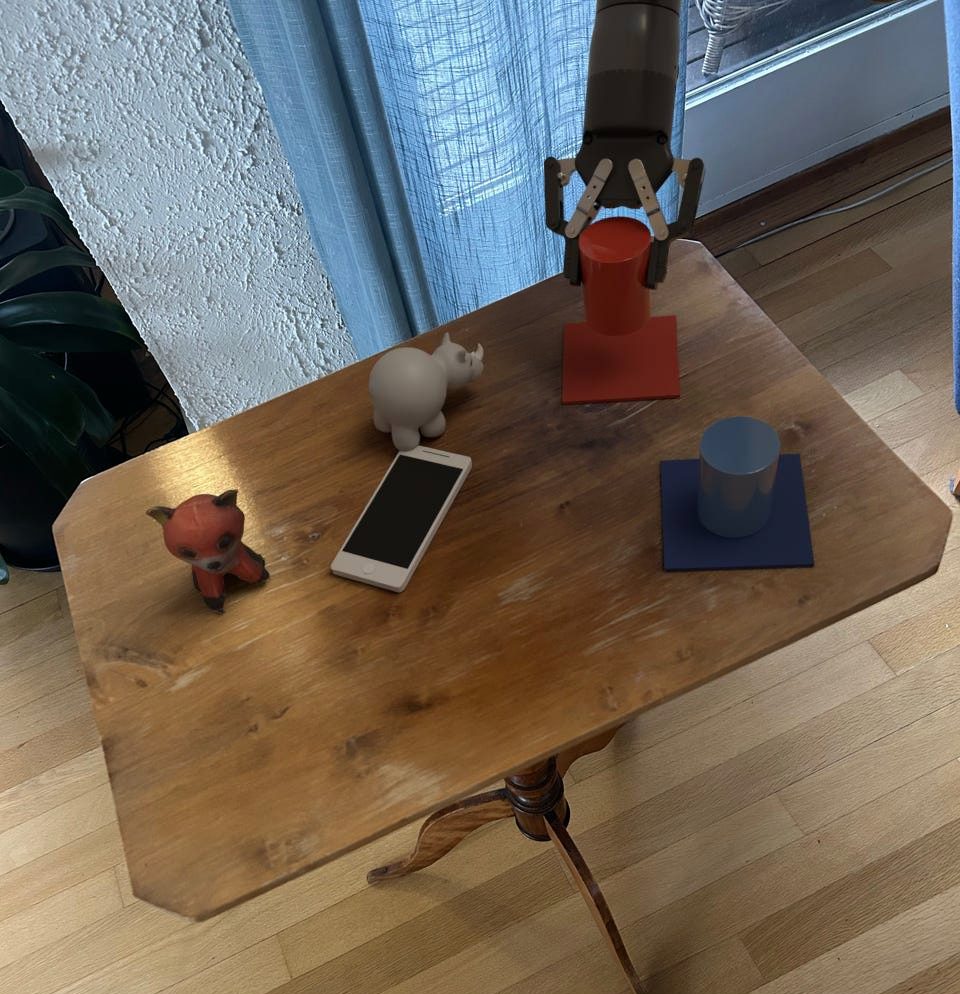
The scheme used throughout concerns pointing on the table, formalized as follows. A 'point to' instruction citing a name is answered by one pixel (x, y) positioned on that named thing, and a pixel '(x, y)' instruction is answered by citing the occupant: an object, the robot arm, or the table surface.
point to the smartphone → (402, 518)
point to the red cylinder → (616, 275)
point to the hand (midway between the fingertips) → (613, 286)
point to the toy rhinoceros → (419, 389)
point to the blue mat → (704, 550)
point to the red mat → (620, 363)
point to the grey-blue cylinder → (737, 476)
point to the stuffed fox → (210, 543)
